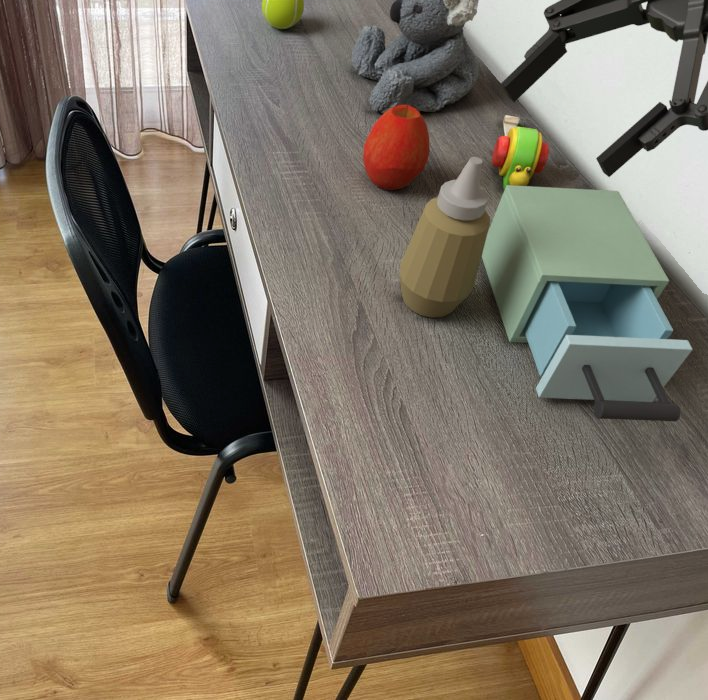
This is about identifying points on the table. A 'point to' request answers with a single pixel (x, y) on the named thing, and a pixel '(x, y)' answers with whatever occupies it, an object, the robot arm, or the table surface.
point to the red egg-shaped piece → (396, 148)
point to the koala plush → (419, 56)
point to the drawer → (605, 349)
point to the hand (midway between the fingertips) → (551, 128)
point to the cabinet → (562, 247)
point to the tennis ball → (282, 12)
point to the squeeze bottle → (447, 246)
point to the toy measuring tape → (519, 153)
